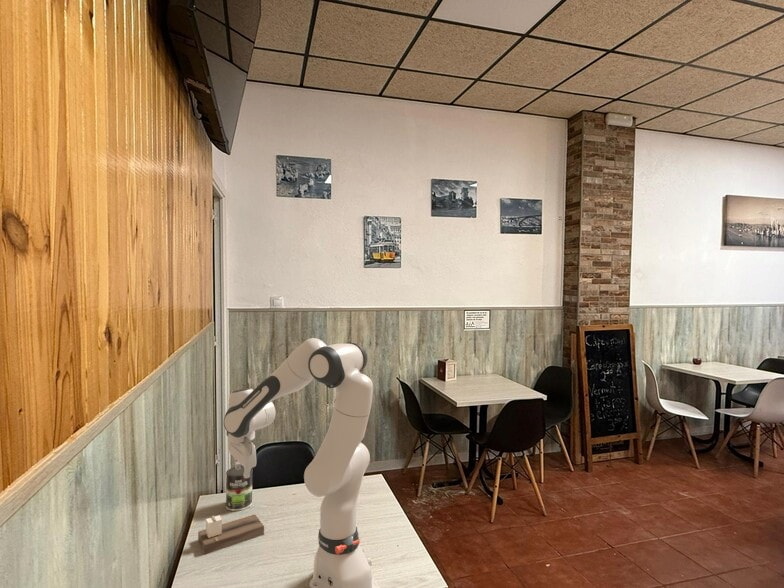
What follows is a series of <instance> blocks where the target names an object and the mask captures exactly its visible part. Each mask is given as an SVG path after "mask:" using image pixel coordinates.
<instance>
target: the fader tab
mask: <svg viewBox="0 0 784 588" xmlns="http://www.w3.org/2000/svg"><path fill="white" fill-rule="evenodd" d="M222 524H223V519H222V517H221V515H220V514H219V515H212V516H211V517H209V518H206V520H205V529H206V535H207V537H208V538H210V537H213V536H216V535H219V534H222Z"/></svg>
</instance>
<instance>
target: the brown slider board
mask: <svg viewBox="0 0 784 588" xmlns="http://www.w3.org/2000/svg"><path fill="white" fill-rule="evenodd" d="M264 535H265V526H264V524H263V523H262V522H261V520H260V519H259V517H258V516H257V514H252V515H248V516H245V517H242V518H239V519H236V520H232V521H228V522H225V523H222V534H219V535H216V536H213V537H210V538H208V537H207V535H206V528H205V529H202V530H198V535H197V537H198V538H197V541H198V543H199V545H200V547H201V550H202V552H203V555H208V554H210V553H214V552H215V551H219V550H222V549H225V548H228V547H231V546H235V545H237V544H240V543H243V542H246V541H249V540H251V539H255V538H257V537H260V536H264Z"/></svg>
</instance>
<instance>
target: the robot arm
mask: <svg viewBox="0 0 784 588" xmlns="http://www.w3.org/2000/svg"><path fill="white" fill-rule="evenodd" d="M367 364H368V354H367V351H366V349H365V348H364V347H363V346H362V345H360V344H358V343H357V342H345V343H334V344H330V345H327V344H326V343H325V342H324V341H323V340H321V339H320V338H316V337H312V338H308V339H306V340H305V341H303V342H302V343H301V344H300V345H299V346H297V347H296V348H295V349H294V350H293V351H292V352H291V353H290V354H289V355H288V357H287V358H286V359H285V360H284V361H283V362H282V363H281V364H280V365H279V366H278V367H277V368H276V369H275V370H274V371H273V372H272V373H271V374H270V375H269V376H267V378H265V379H264V380H263V381H262V382H260V383H259V385H257V387H255V389H253V388H252V387H251V388H250V387H245V388H242V389H241V388H240V389H237V390H234V391H232V392H231V393H230V395H229V399H228V409H227V411H226V412H225V414H224V418H223V427H224V429H225V431H226V432H225V433H226V436H227V443H228V444H227V445H228V446H227V447H228V451H229V454H230V455H231V456H232V457H233V461H234V467H235V468H236V469H237V470H240V469H241V466H244V472H243V474H244V478H249V477H250V471H251V468H252V469H253V468H255V467H256V466H257V450H256V446H255V444H254V442H252V441H253V440H254V439H255V438H256V431H258V430H261V429H263V428H266V427H269V426H270V425H272V424H273V423H275V420H276V418H277V408H276V404H275V403H274V402H273V401H275V400H277V399H279V398H282V397H285V396H287V395H290V394H294V393H296V392H298V391H300V390H302V389H303V388H305V387H306V386H308V385H309V384H310V383H312V381H313V380H316V381H317V382H319V383H321V384H323V385H324V386H326V387H327V388H329V389H335V388H336V398H335V401H334V402H335V403H334V406H333V410H332V415H331V419H330V422H329V427H328V430H327V431H326V434H325V437H324V439H323V441H322V443H321V445H320V447H319V449H317V450H318V451H317V453H316V454H315V456H314V458H313V459H312V461H311V462H310V463H309V464H308V465H307V466H306V468H305V470H304V474H303V479H304V484H305V487H306V489H307V491H308V492H309V493H310V494H311V495H313V496H315V497H318V498H319V497H320V498H321V497H323V498H322V502H321V504H320V510H319V511H320V514H319V516H320V520H319V524H320V525H319V526H320V527H319V530H318V536H317V539H318V548H317V551H316V553H315V555H314V560H313V572H312V573H313V574H312V578H311V579H310V580H309V582H308V583H309V585H308V587H309V588H381V587H380V585H379V584H378V582H377V581H376V578H375V576H373V574H372V568H371V566H372V559H371V557H366V555H365V550H364V547H362V546H361V545H360V543H361V542H360V541H361V538H360V536H359V534H360V533H359V531H358V527H357V506H358V498H359V494H360V491H361V490H360V489H361V486H362V482H363V479H364V475H365V473H366V470H367V469H368V466H369V465H370V462H371V455H370V454H371V453H370V451H369V449H368V447H367V446H366V445H365V444H364V443H363V442H362V441H363V439H364V438H365V435H366V430H367V426H368V422H369V418H370V413H371V409H372V403H373V394H374V384H373V381H372V380H371V378H370V377H369V376H367V374H364V373H362V371H363V370H364V369H365V368H366V366H367Z"/></svg>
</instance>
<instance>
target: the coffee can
mask: <svg viewBox="0 0 784 588" xmlns="http://www.w3.org/2000/svg"><path fill="white" fill-rule="evenodd" d="M253 470H254V469H253V468H251V471H250V477H249V478H244V474H243V472H244V466H242V465H241V469H240V470H237V469H236V468H235V466H233V467H231V468H229V469H227V471H226V472H225V474H226V488H225V489H226V492H225V495H226V498H225V508H226V510H228V511H230V512H231V511H232V512H239V511H243V510H246V509H248V508H250V507H251V506H252V504H253V472H254V471H253Z"/></svg>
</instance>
